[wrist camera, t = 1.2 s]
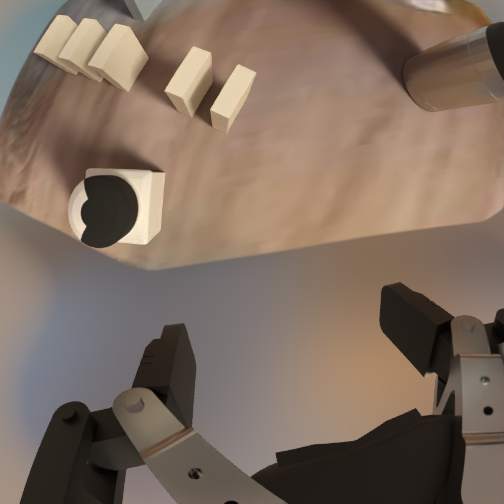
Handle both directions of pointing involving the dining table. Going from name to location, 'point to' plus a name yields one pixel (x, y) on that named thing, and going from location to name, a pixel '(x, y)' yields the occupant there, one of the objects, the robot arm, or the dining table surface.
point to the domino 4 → (141, 8)
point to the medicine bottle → (117, 206)
